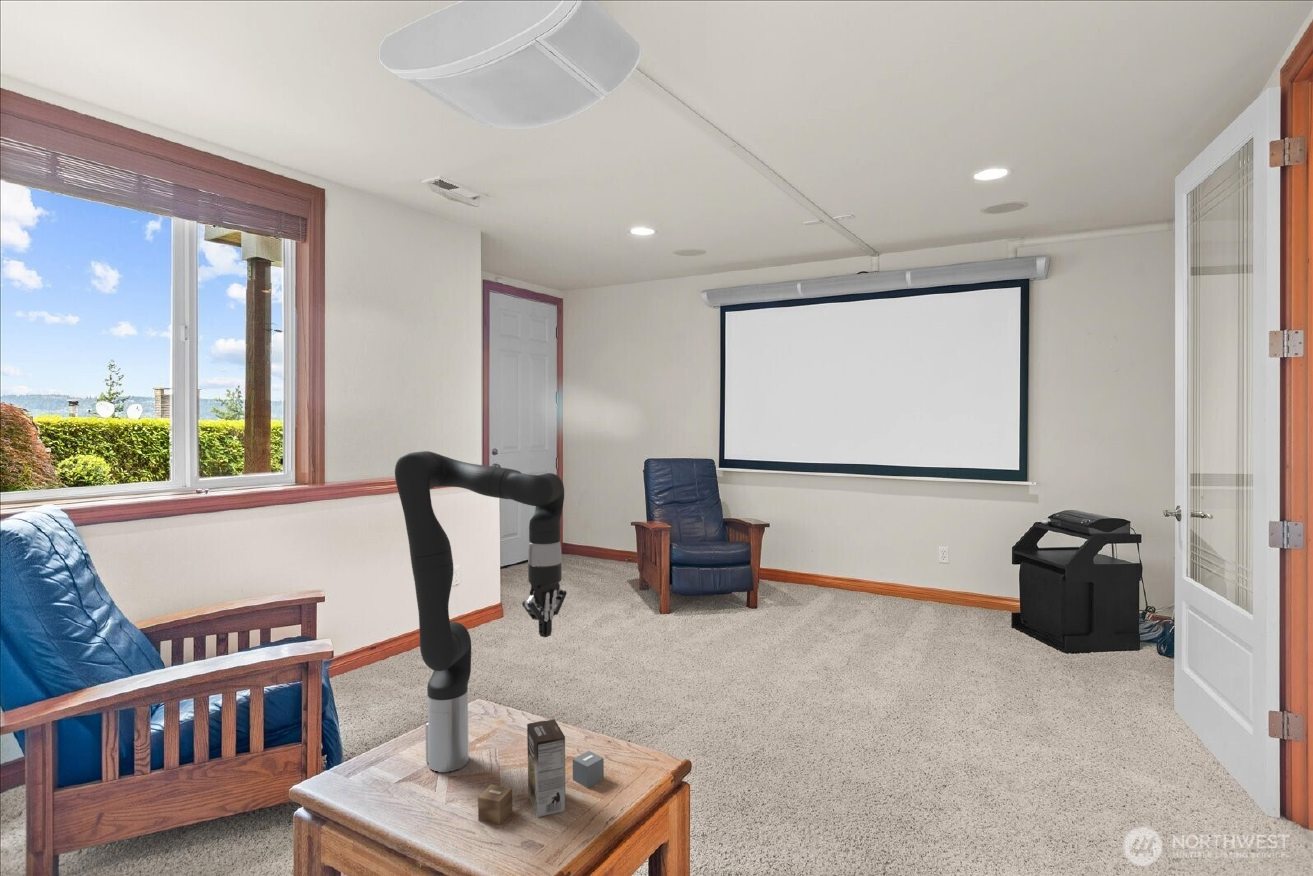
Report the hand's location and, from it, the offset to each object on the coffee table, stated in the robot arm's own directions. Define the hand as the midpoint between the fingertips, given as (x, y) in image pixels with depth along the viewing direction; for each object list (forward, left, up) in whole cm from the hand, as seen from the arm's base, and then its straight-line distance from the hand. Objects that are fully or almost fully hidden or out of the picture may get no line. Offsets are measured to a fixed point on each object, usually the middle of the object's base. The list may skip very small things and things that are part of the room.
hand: (545, 636), depth 151 cm
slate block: (+9, +4, -33) cm, 34 cm away
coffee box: (+7, -8, -33) cm, 35 cm away
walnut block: (+1, -17, -33) cm, 37 cm away
